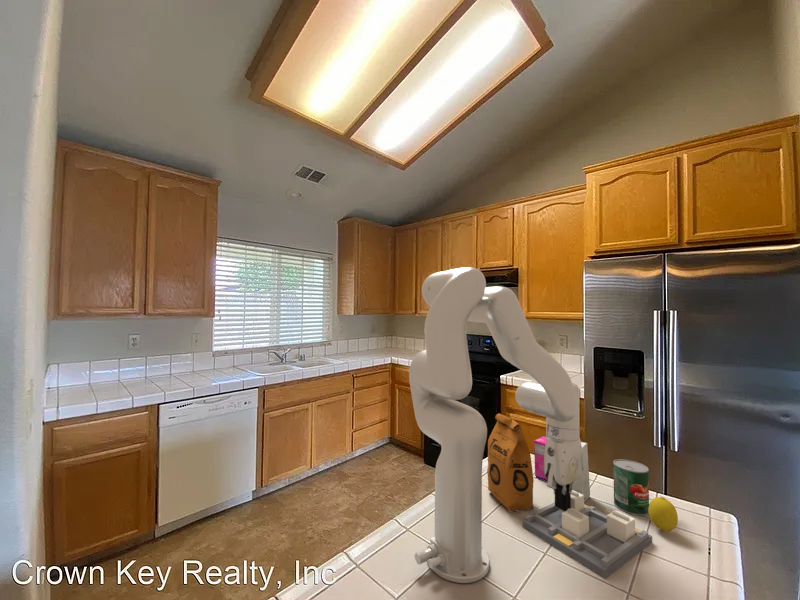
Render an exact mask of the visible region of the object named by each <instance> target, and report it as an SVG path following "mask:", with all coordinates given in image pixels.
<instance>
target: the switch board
mask: <svg viewBox="0 0 800 600" xmlns="http://www.w3.org/2000/svg"><path fill="white" fill-rule="evenodd" d="M563 512H565V511H564V510H562V509H560V508H558V507H556V506H555V501H554V502H553V503H550V504H548V505H545V506H544V507H541V508H539V509H537V510H535V511H533V512H531V513H529V514H527V515H526V516H525V517H526V518H525V519H522V528H523V529H526V530H527V531H528V532H530V533H532V534H533V535H535V536H536V537H538V538H540V539H541V540H543V541H545V542H546V543H548V544H550V546H552V547H554V548H556V549H557V550H559V551H560V552H562V553H564V554H565V555H567V556H568V557H570V558H572V559H573V560H574V561H576V562H578V563H579V564H581V565H583V566H585V567H586V568H588V569H589V570H590V571H593V572H594V573H596V574H597V575H599V576H600V577H602V578H604V579H605V580H606V579H608V577H610V576H611V575H613V574H614V573H616V571H618V570H619V569H620V568H622V567H623V566H624V565H626V564H627V563H628V562H629V561H631V560H632V559H633V558H635V557H636V556H637V555H639V554H640V553H642V552H643V551H644V550H645V549H647V548H648V547H649V546H650V545H652V544H653V536H652V535H650V533H649V531H647V530H645V529H642V530H639V529H638V528H636V527H635V536H634V537H632V538H631V539H630V540H628V541H627V542H625V543H624V542H622V541H620V540H618V539H616V538H615V537H613V536H611V535H609V534H607V515H608V514H606V513H604V512H603V511H600V510H598V509H596V507H595V506H593V505H590V506H589V505H587V504H586V503H584V510H582V511H580V512H581V513H583V514H585V515H587V516H589V533H588V534H587V535H585V536H583V537H582V538H578V537H577V536H575V535H573V534H571V533H570V532H568V531H566V530H564V529H562V513H563Z"/></svg>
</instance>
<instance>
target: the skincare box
mask: <svg viewBox="0 0 800 600" xmlns="http://www.w3.org/2000/svg"><path fill="white" fill-rule="evenodd" d="M581 445H582V454H583V477H582V478H581V479H579V480H577V481H574V482H573V484H572V490H574V491H576V492H578V493H580V494H582V495H584V503H585V502H586V501H588V500H589V499H590V497H591V491H590V490H591V487H590V486H591V484H590V472H589V471H590V469H589V467H590V466H589V454H588V453H589V452H588V450H589V449H588V443H587V442H583V441H581ZM552 491H553V494H554V495H555V490H554V489H552Z"/></svg>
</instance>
